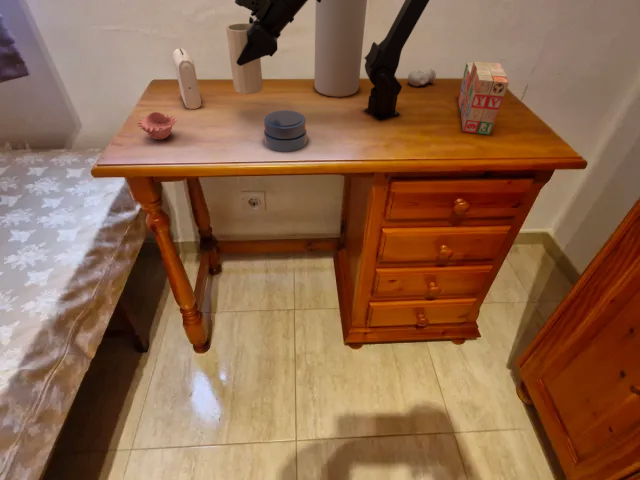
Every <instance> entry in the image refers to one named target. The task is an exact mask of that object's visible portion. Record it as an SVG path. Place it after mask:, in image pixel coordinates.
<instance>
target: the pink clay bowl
mask: <svg viewBox="0 0 640 480" xmlns="http://www.w3.org/2000/svg"><path fill="white" fill-rule="evenodd" d="M176 118H177V117H174V115H171V116H169V114H166V115H165V114H164V113H163V112H159V111H154V112H151V113H149V114H148V115H147V116H145V117H143V119H142V120H141V119H139V122H137V127H139V128H140V129H142V130H143V131H144V132H146V133H147V136H149V138H152V139H154V140H158V141H159V140H164V139H166V138H168V137H169V135H171V133H172V129H173V126H174V125H176V122H177V120H176Z"/></svg>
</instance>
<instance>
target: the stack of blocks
mask: <svg viewBox="0 0 640 480" xmlns="http://www.w3.org/2000/svg"><path fill="white" fill-rule="evenodd" d="M509 85H510V81H509V80H508V76H507V74H506V72H505V70H504V68H503V66H502V65H501V63H498V62H487V61H486V62H485V61H473V62H466V64H465V66H464V71H463V76H462V81H461V84H460V89H459V92H458V95H457V99H458V108H459V113H460V117H461V127H462V132H463V133H469V134H479V135H487V136H490V134H491V132H492V130H493V127H494V126H495V121H496V118H497V117H498V113H499V110H500V108H501V106H502V103H503V101H504V97H505V94H506V92H507V89H508V87H509Z"/></svg>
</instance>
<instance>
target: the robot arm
mask: <svg viewBox="0 0 640 480" xmlns="http://www.w3.org/2000/svg"><path fill="white" fill-rule="evenodd" d="M308 1H309V0H234V3H235V4H236V5H237V6H239V7H243V8H245V9H247V10H249V11H251V12H250V16H249V18H248V23H250V24H251V25H250V27H249V29H247V40H248V42H247V43H246V45H245V47H244V49H243V51H242V52H241V54H240V56H239V58H238V60H237V62H236V63H237V64H238V65H239V66H242V65H244V64H246V63H249V62H251V61H253V60H256V59H259V58H260V59H261V58H264V57H267V56H268V57H273V56H274V55H275V54H276V52H277V51H278V39H279V38H280V37H281V35H282V34H281V33H282V32H283V30H284V29H285V28H286V27H287V26H288V24H292V23H293V21H294V20H295V16H296V15H297V14H298V13H299V12H300V10H302V8H304V6H305V5H306V3H307V2H308ZM317 1H318V2H319V3H320V2H321V0H317ZM429 2H430V0H404V2H403V4H402V5H401V7H400V9H399V11H398V13H397V16H396V17H395V18H394V21H393V23H392V25H391V26H390V29H389V30H388V33H387V34H386V36H385V38H384V39H382V40H381V42H379V44H377V43H376V42H375V41H373V42H372V44H371V47H370V48H369V52H368V53H367V54H366V55H365V56H364V60H365V63H364V70H365V73H366V75H367V77H368V79H369V81H370V83H371V84H372V85H373V87H372V88H370V94H369V96H368V101H367V107H366V108H364V112H365V113H367V114H368V115H370V116H372V118H375V119H377V120H378V121H384V120H387V119H390V118H391V119H392V118H394V117H398V116H400V112H398V110H396V108H397V103H398V96H399V95H400V93H401V91H402V89H403V86H402V84H401V83H400V81H399V80H398V78H397V77H396V72H397V70H398V68H399V65H400V59H401V55H402V52H403V49H404V46H405V45H406V43H407V41H408V40H409V38H410V36H411V34H412V32H413V31H414V29H415V27H416V25H417V24H418V22H419V20H420V18H421V17H422V15H423V12H424V11H425V9H426V7H427V6H428V5H429Z"/></svg>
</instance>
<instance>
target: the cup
mask: <svg viewBox="0 0 640 480" xmlns="http://www.w3.org/2000/svg"><path fill="white" fill-rule="evenodd" d="M250 25H251V24H250V23H249V22H237V23H231V24H228V25H226V26H225V29H226V31H225V32H226V38H227V39H226V40H227V45H228V53H229V61H230V67H231V75H232V83H233V84H232V85H233V90H234V92H235V93H238V94H241V95H254V94H258V93H260V92H262V91H263V90H264V87H263V85H264V84H263V73H262V72H263V71H262V60H261V58H259V59H256V60H253V61H251V62H249V63H246V64H244V65H242V66H239V65H238V64H237V63H236V62H237V60H238V58H239V56H240V54H241V52H242V51H243V49H244V47H245V45H246V43H247V42H248V40H247V29H249V27H250Z"/></svg>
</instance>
